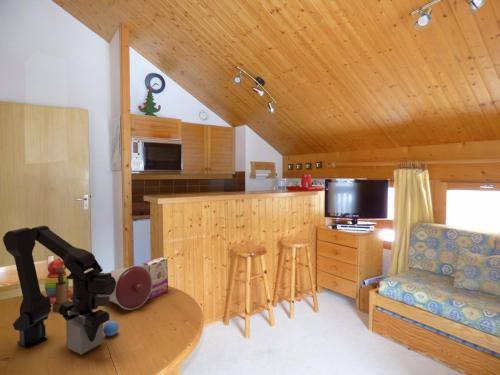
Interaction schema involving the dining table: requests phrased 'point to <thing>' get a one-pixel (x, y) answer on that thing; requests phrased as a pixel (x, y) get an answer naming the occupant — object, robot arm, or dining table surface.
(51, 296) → the stacking bear
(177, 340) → the dining table surface
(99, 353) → the dining table surface
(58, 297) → the brown turned post
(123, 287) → the canister
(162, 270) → the candy bar box
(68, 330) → the grey matte cube
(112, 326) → the ball
